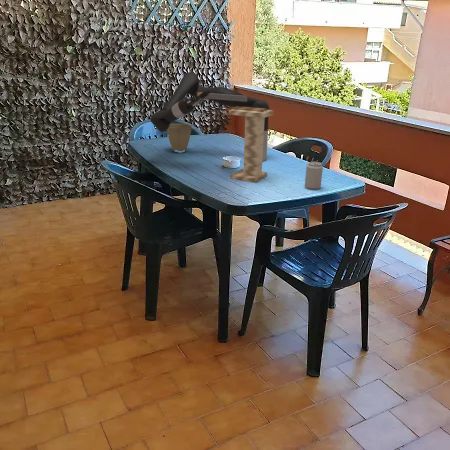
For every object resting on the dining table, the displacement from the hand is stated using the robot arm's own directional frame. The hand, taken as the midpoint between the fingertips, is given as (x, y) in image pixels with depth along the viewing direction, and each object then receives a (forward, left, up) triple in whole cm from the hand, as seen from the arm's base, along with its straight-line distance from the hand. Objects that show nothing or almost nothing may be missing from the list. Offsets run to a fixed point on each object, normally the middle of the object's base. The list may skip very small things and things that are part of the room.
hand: (208, 92), depth 223 cm
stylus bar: (+5, +5, -3) cm, 8 cm away
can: (+41, +40, -40) cm, 69 cm away
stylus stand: (+17, +17, -40) cm, 46 cm away
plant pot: (-47, -4, -40) cm, 62 cm away
